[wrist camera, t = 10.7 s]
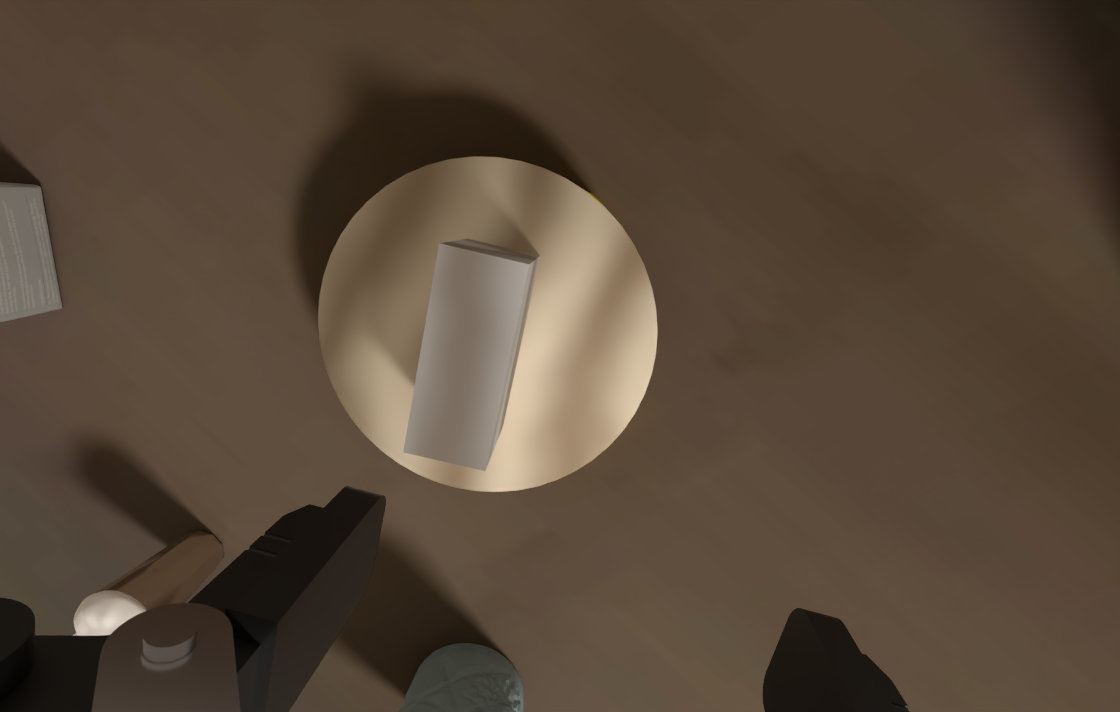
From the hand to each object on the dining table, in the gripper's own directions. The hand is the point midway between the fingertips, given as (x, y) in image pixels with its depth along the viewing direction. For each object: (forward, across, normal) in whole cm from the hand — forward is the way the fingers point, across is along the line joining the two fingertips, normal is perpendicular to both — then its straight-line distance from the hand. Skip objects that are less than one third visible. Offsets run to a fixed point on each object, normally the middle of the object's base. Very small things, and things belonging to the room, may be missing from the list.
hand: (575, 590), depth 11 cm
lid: (+22, +6, +1) cm, 23 cm away
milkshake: (+26, +24, +23) cm, 42 cm away
